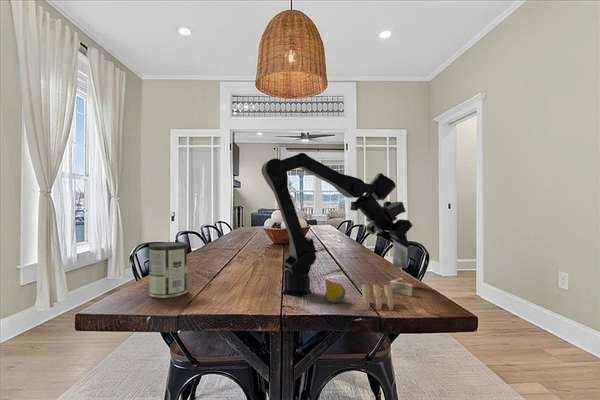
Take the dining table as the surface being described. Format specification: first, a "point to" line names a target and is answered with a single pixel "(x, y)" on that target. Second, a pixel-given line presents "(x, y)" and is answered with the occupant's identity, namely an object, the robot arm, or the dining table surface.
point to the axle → (399, 255)
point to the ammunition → (377, 296)
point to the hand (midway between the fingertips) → (403, 245)
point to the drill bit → (334, 292)
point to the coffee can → (168, 269)
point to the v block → (401, 287)
